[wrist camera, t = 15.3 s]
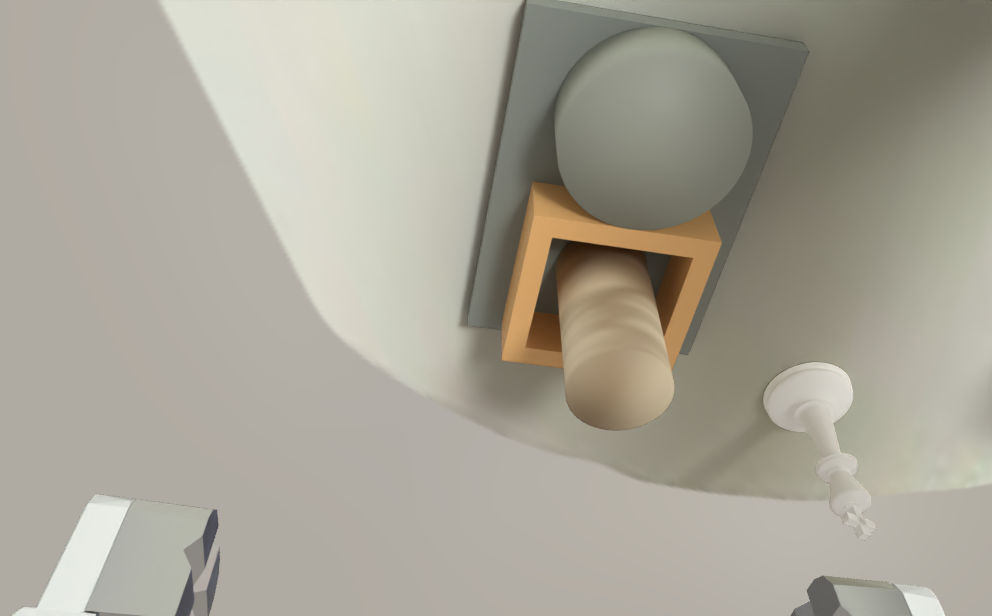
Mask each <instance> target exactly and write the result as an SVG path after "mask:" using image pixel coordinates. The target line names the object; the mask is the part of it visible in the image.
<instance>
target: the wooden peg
mask: <svg viewBox="0 0 992 616" xmlns="http://www.w3.org/2000/svg"><path fill="white" fill-rule="evenodd" d="M556 282H557V294H558V307H559V319H560V332H561V344H562V356H563V369H564V381H565V394H566V401H567V404H568V406H569V408H570V410H571V411H572V413H573V414H574V415H575V416H576V417H577V418H578V419H580V420H581V421H583V422H584V423H586V424H588V425H590V426H593V427H596V428H599V429H605V430H627V429H632V428H636V427H640V426H642V425H645V424H647V423H649V422H651V421H653V420H654V419H656V418H657V417H659V416H660V415H661V414H662V413H663V412H664V411H665V410H666V409H667V407H668V406H669V404H670V403H671V401H672V399H673V395H674V390H675V386H674V380H673V375H672V371H671V367H670V362H669V358H668V354H667V349H666V345H665V340H664V336H663V332H662V327H661V323H660V319H659V314H658V310H657V306H656V301H655V297H654V292H653V288H652V284H651V279H650V275H649V271H648V266H647V262H646V258H645V254H644V252H643V251H641V250H635V249H628V248H621V247H614V246H607V245H600V244H593V243H586V242H579V241H573V240H571V241H570V242H569V243H568V244H567V245H566V246H565V247H564V248H563V249H562V251H561V252H560V254H559V256H558V259H557V262H556Z"/></svg>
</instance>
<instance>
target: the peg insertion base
mask: <svg viewBox="0 0 992 616" xmlns="http://www.w3.org/2000/svg"><path fill="white" fill-rule="evenodd" d="M808 54H809V50H808V49H807V48H806V46H805V45H804V44H803V43H801V42H796V41H790V40H784V39H778V38H772V37H766V36H761V35H755V34H749V33H743V32H737V31H732V30H726V29H720V28H714V27H708V26H702V25H697V24H691V23H685V22H679V21H673V20H667V19H662V18H656V17H650V16H644V15H638V14H632V13H627V12H621V11H615V10H609V9H603V8H598V7H592V6H586V5H580V4H574V3H568V2H563V1H557V0H526V4H525V9H524V15H523V20H522V25H521V31H520V36H519V42H518V47H517V52H516V58H515V63H514V69H513V74H512V79H511V85H510V90H509V95H508V101H507V106H506V112H505V117H504V122H503V128H502V133H501V138H500V144H499V149H498V155H497V160H496V165H495V171H494V176H493V181H492V187H491V192H490V198H489V203H488V208H487V214H486V219H485V225H484V230H483V235H482V241H481V246H480V251H479V257H478V262H477V268H476V273H475V278H474V284H473V289H472V294H471V300H470V305H469V311H468V321H467V326H475V327H482V328H490V329H497V330H502V360H503V361H511V362H518V363H526V364H533V365H541V366H549V367H556V368H563V356H562V344H561V332H560V319H559V307H558V294H557V282H556V262H557V259H558V256H559V254H560V252H561V251H562V249H563V248H564V247H565V246H566V245H567V244H568V243H569V242H570V241H571V240H573V241H579V242H586V243H593V244H600V245H607V246H614V247H621V248H628V249H635V250H641V251H643V252H644V254H645V258H646V262H647V266H648V271H649V275H650V279H651V284H652V288H653V292H654V297H655V301H656V306H657V310H658V314H659V319H660V323H661V327H662V332H663V336H664V340H665V345H666V349H667V354H668V358H669V362H670V367H671V371H672V370H673V367H674V364H675V362H676V359H677V357H678V354H684V355H688V354H689V352H690V349H691V347H692V344H693V342H694V339H695V337H696V334H697V332H698V329H699V327H700V324H701V322H702V319H703V317H704V314H705V311H706V309H707V306H708V304H709V301H710V299H711V296H712V294H713V291H714V289H715V286H716V284H717V281H718V279H719V276H720V274H721V271H722V269H723V266H724V264H725V261H726V259H727V256H728V254H729V251H730V249H731V246H732V244H733V241H734V239H735V236H736V234H737V231H738V229H739V226H740V224H741V221H742V219H743V216H744V214H745V211H746V209H747V206H748V204H749V201H750V199H751V196H752V194H753V191H754V189H755V186H756V184H757V181H758V179H759V176H760V174H761V171H762V169H763V166H764V164H765V161H766V159H767V156H768V154H769V151H770V149H771V146H772V144H773V141H774V139H775V136H776V134H777V131H778V129H779V126H780V124H781V121H782V119H783V116H784V114H785V111H786V109H787V106H788V104H789V101H790V99H791V96H792V94H793V91H794V89H795V86H796V84H797V81H798V79H799V76H800V74H801V71H802V69H803V66H804V64H805V61H806V59H807V56H808Z"/></svg>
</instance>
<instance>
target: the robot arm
mask: <svg viewBox="0 0 992 616" xmlns="http://www.w3.org/2000/svg"><path fill="white" fill-rule="evenodd" d="M217 516H218V515H217V510H215V509H207V508H199V507H192V506H184V505H177V504H169V503H162V502H154V501H147V500H139V499H133V498H124V497H116V496H107V495H98V494H96V495H94V496H93V498H92V499H91V500H90V501H89V502H88V503H87V504H86V505H85V507H84V509H83V512H82V514H81V516H80V518H79V520H78V522H77V524H76V526H75V528H74V530H73V532H72V534H71V536H70V538H69V540H68V542H67V545H66V546H65V548H64V550H63V552H62V554H61V556H60V558H59V561H58V562H57V565H56V567H55V569H54V571H53V573H52V575H51V577H50V579H49V581H48V583H47V585H46V587H45V589H44V591H43V593H42V595H41V597H40V599H39V601H38V603H37V605H36V607H22V608H20V609H19V610H17V611H16V612H15V613H13V614H12V615H11V616H209V613H210V610H211V606H212V602H213V599H214V595H215V589H216V585H217V580H218V574H219V562H220V555H219V553H220V552H219V547H218V546H217V545H216V544H215V543H214V538H215V535H216V532H217V529H218V517H217ZM807 593H808V596H809V599H810V602H808V603H806V604H804V605H802V606H800V607H798V608H796V609H794V611H793V613H792V614H791V616H945V614H944V612H943V609H942V607H941V605H940V603H939V601H938V599H937V597H936V595H935V594H934V593H933V592H932V591H931V590H930V589H929V588H927V587H922V586H913V585H901V584H890V583H888V582H883V581H872V580H862V579H851V578H840V577H831V576H821V577H819V578H817V579H814V581H813V582H812V583H811V585H810V586H809V588H808V589H807Z"/></svg>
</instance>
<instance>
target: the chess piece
mask: <svg viewBox="0 0 992 616" xmlns="http://www.w3.org/2000/svg"><path fill="white" fill-rule="evenodd" d="M852 400H853V389H852V385H851V381H850V378H849V377H848V375H847V374H846V373H845V372H844V371H843V370H842V369H840V368H839V367H837V366H835V365H832V364H828V363H822V362H810V363H804V364H800V365H796V366H793V367H791V368H789V369H787V370H785V371H783V372H781V373H780V374H779V375H777V376H776V377H775V378H774V379H773V380H772V381H771V382H770V383H769V385H768V386H767V388H766V390H765V393H764V396H763V404H764V408H765V410H766V412H767V413H768V415H769V417H770V418H771V420H772V421H773V422H774V423H775V424H776V425H778V426H779V427H781V428H784V429H786V430H790V431H795V432H807V433H808V434H809V436H810V438H811V440H812V441H813V443H814V445H815V447H816V448H817V450H818V452H819V454H820V456H821V458H822V459H821V460H820V461H819V462H818V463H817V465H816V467H815V472H816V474H817V476H818V477H819V478H820V479H821V480H822V481H824V482H827V483H830V498H829V503H830V509H831V510H832V512H833V513H834V514H836V515H838V516H841V519H842V522H843V524H845V525H848V526H850V527H853V528H854V530H855V533H856V535H857V538H858V539H861V540H864V541H865V540H866V539H867V538H869V537H870V536H871V535H870V534H871V533H872V532H873V531H874V530H876V527H875V525H874V522H872V521H870V520H867V519H864V518H863V516H862V513H863V512H865V511H866V510H867V509H868V508H869V507H870V505H871V502H872V499H871V496H870V494H869V493H868V492H867V490H866V489H865V488H864V487H862V486H861V485H860V484H859V483H858V482H857V480H856V479H855V478H854V477H853V476H854V474H855V473H856V471H857V468H858V467H857V460H856V458H855V457H854V456H852V455H850V454H847V453H841V450H840V447H839V444H838V440H837V436H836V431H835V427H834V423H835V422H836V421H838V420H839V419H840V418H841V417H842V416H844V414H845V413H846V412H847V411H848V409H849V408H850V406H851V404H852Z"/></svg>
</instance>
